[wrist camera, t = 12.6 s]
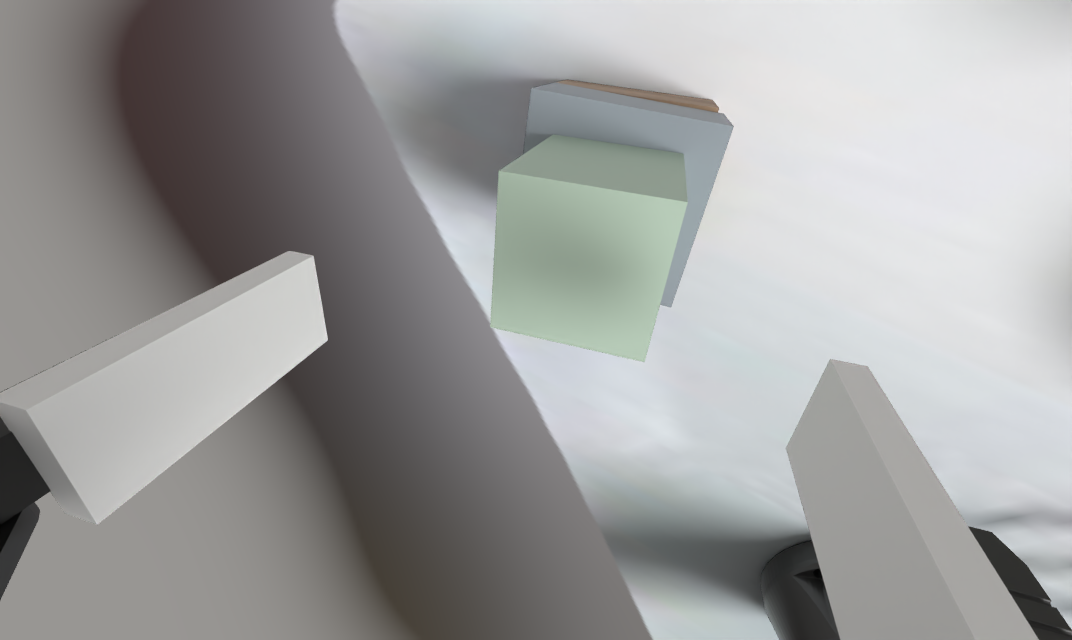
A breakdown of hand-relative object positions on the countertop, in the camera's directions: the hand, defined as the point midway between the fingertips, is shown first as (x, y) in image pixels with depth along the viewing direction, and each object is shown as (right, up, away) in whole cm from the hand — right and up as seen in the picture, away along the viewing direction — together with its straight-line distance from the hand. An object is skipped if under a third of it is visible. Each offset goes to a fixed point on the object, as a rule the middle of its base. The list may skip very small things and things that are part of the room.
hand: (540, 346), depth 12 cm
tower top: (+5, +9, +15) cm, 18 cm away
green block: (+3, +6, +11) cm, 13 cm away
